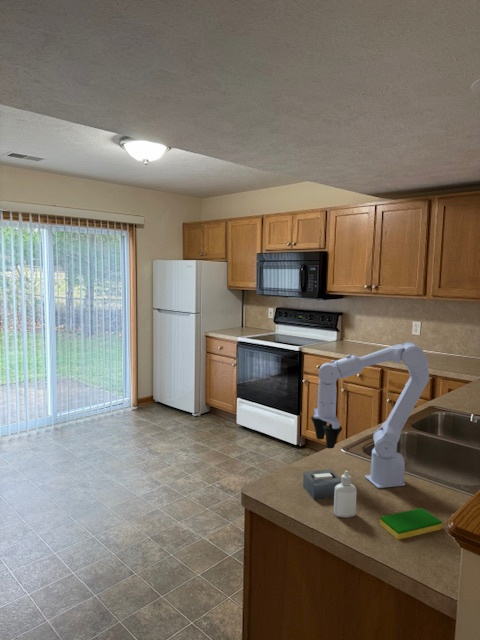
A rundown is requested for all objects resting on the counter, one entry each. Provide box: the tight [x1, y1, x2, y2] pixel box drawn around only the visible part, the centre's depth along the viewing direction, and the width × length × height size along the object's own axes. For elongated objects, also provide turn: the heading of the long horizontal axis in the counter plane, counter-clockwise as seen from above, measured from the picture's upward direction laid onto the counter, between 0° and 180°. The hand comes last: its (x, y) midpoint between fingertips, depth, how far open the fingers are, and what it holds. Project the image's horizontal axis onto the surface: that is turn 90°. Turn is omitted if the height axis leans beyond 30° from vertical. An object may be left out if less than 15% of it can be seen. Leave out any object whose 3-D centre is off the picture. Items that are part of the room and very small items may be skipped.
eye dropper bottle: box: [333, 470, 358, 518], centre depth 117 cm, size 4×6×12 cm
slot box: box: [302, 468, 341, 500], centre depth 129 cm, size 9×8×5 cm
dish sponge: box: [379, 507, 443, 540], centre depth 112 cm, size 7×14×2 cm, turn 111°
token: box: [314, 473, 332, 480], centre depth 129 cm, size 5×2×5 cm, turn 103°
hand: (325, 443), depth 140 cm, fingers open, 7 cm apart
